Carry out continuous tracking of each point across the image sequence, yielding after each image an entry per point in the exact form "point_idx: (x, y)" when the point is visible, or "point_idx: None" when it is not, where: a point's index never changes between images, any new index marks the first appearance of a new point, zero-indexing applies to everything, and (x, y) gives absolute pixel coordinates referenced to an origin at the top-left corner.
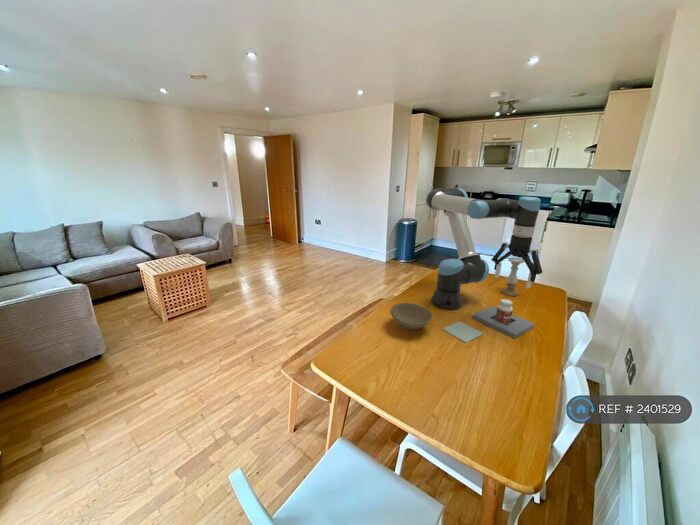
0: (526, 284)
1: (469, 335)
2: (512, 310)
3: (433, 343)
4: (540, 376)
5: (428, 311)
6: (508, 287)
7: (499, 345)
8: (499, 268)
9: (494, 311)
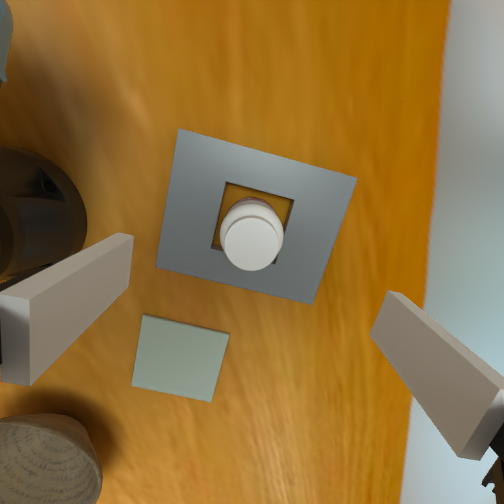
0: (385, 356)
1: (203, 369)
2: (283, 235)
3: (153, 445)
4: (383, 408)
5: (55, 434)
6: None
7: (282, 356)
8: (78, 299)
9: (205, 181)
